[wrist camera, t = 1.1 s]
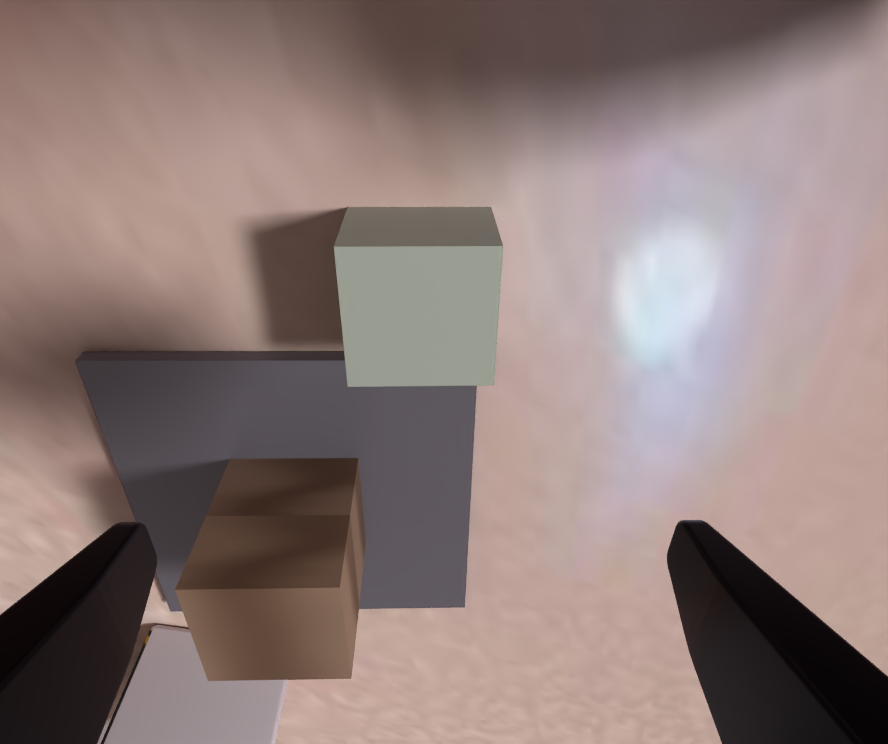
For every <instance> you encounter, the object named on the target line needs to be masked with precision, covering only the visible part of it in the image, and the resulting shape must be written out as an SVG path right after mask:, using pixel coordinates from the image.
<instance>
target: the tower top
mask: <svg viewBox="0 0 888 744" xmlns="http://www.w3.org/2000/svg"><path fill="white" fill-rule="evenodd" d="M175 591H176V594H177V597H178V600H179V602H180V605H181V608H182V611H183V613H184V616H185V619H186V622H187V624H188V627H189V630H190V633H191V635H192V638H193V641H194V644H195V646H196V649H197V652H198V655H199V657H200V660H201V663H202V666H203V668H204V671H205V674H206V677H207V679H208V681H239V680H296V679H351V676H352V667H353V657H354V648H355V639H356V630H357V621H358V611H359V597H358V587H357V577H356V567H355V557H354V548H353V538H352V528H351V518H350V515H284V516H206V517H205V519H204V522H203V524H202V526H201V529H200V531H199V533H198V536H197V538H196V541H195V543H194V545H193V548H192V550H191V553H190V555H189V557H188V560H187V562H186V565H185V567H184V569H183V572H182V574H181V576H180V579H179V581H178V584H177V586H176V588H175Z"/></svg>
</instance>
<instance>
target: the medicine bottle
mask: <svg viewBox="0 0 888 744" xmlns="http://www.w3.org/2000/svg"><path fill="white" fill-rule="evenodd" d="M287 681H288V680H239V681H208V679H207V677H206V674H205V671H204V668H203V666H202V663H201V660H200V657H199V655H198V652H197V649H196V646H195V644H194V641H193V638H192V635H191V633H190V630H189V629H186V628H179V627H171V626H164V625H156V626H153V627H152V628H151V629H150V631H149V633H148V636H147V638H146V640H145V642H144V645H143V647H142V649H141V652H140V654H139V656H138V659H137V661H136V663H135V666H134V668H133V670H132V673H131V675H130V677H129V679H128V682H127V684H126V686H125V689H124V691H123V693H122V696H121V698H120V700H119V703H118V705H117V707H116V710H115V712H114V714H113V717H112V719H111V721H110V723H109V726H108V728H107V730H106V733H105V735H104V738H103V740H102V742H101V744H275V741H276V736H277V731H278V726H279V721H280V716H281V711H282V706H283V701H284V696H285V691H286V686H287Z"/></svg>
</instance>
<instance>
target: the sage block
mask: <svg viewBox="0 0 888 744" xmlns="http://www.w3.org/2000/svg"><path fill="white" fill-rule="evenodd" d="M334 255H335V265H336V275H337V285H338V295H339V305H340V315H341V325H342V335H343V345H344V355H345V365H346V375H347V385H348V387H381V386H478V385H494V380H495V364H496V349H497V333H498V318H499V302H500V286H501V271H502V255H503V244H502V241H501V238H500V234H499V231H498V228H497V225H496V221H495V218H494V215H493V212H492V208H491V207H347V210H346V213H345V216H344V219H343V222H342V224H341V227H340V230H339V233H338V236H337V239H336V242H335V244H334Z"/></svg>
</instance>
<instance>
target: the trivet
mask: <svg viewBox="0 0 888 744" xmlns="http://www.w3.org/2000/svg"><path fill="white" fill-rule="evenodd" d="M75 362H76V365H77V368H78V370H79V373H80V375H81V378H82V381H83V383H84V386H85V389H86V391H87V394H88V396H89V399H90V402H91V404H92V407H93V409H94V412H95V415H96V417H97V420H98V423H99V425H100V428H101V430H102V433H103V436H104V438H105V441H106V444H107V446H108V449H109V451H110V454H111V457H112V459H113V462H114V465H115V467H116V470H117V472H118V475H119V478H120V480H121V483H122V485H123V488H124V491H125V493H126V496H127V499H128V501H129V504H130V506H131V509H132V512H133V514H134V517H135V520H136V522H140V523H143V524H144V525H145V526H146V528H147V530H148V533H149V535H150V538H151V541H152V544H153V546H154V549H155V552H156V555H157V567H156V571H155V572H156V575H157V577H158V580H159V582H160V585H161V588H162V590H163V593H164V596H165V598H166V601H167V603H168V606H169V609H170V611H182V608H181V605H180V602H179V600H178V597H177V594H176V591H175V588H176V586H177V584H178V581H179V579H180V576H181V574H182V572H183V569H184V567H185V565H186V562H187V560H188V557H189V555H190V553H191V550H192V548H193V545H194V543H195V541H196V538H197V536H198V533H199V531H200V529H201V526H202V524H203V522H204V519H205V517H206V514H207V512H208V510H209V507H210V505H211V502H212V500H213V498H214V495H215V493H216V490H217V488H218V486H219V483H220V481H221V479H222V476H223V474H224V471H225V469H226V467H227V464H228V462H229V459H273V458H358V459H359V471H360V483H361V495H362V507H363V519H364V530H365V542H366V547H365V556H364V565H363V574H362V584H361V593H360V602H359V609H378V608H450V607H465V592H466V573H467V554H468V536H469V517H470V499H471V480H472V462H473V443H474V424H475V406H476V387H477V386H381V387H348V385H347V375H346V365H345V355H344V352H83V353H82V354H81V355H80V356H79V357H78V358H77V359H76V360H75Z"/></svg>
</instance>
